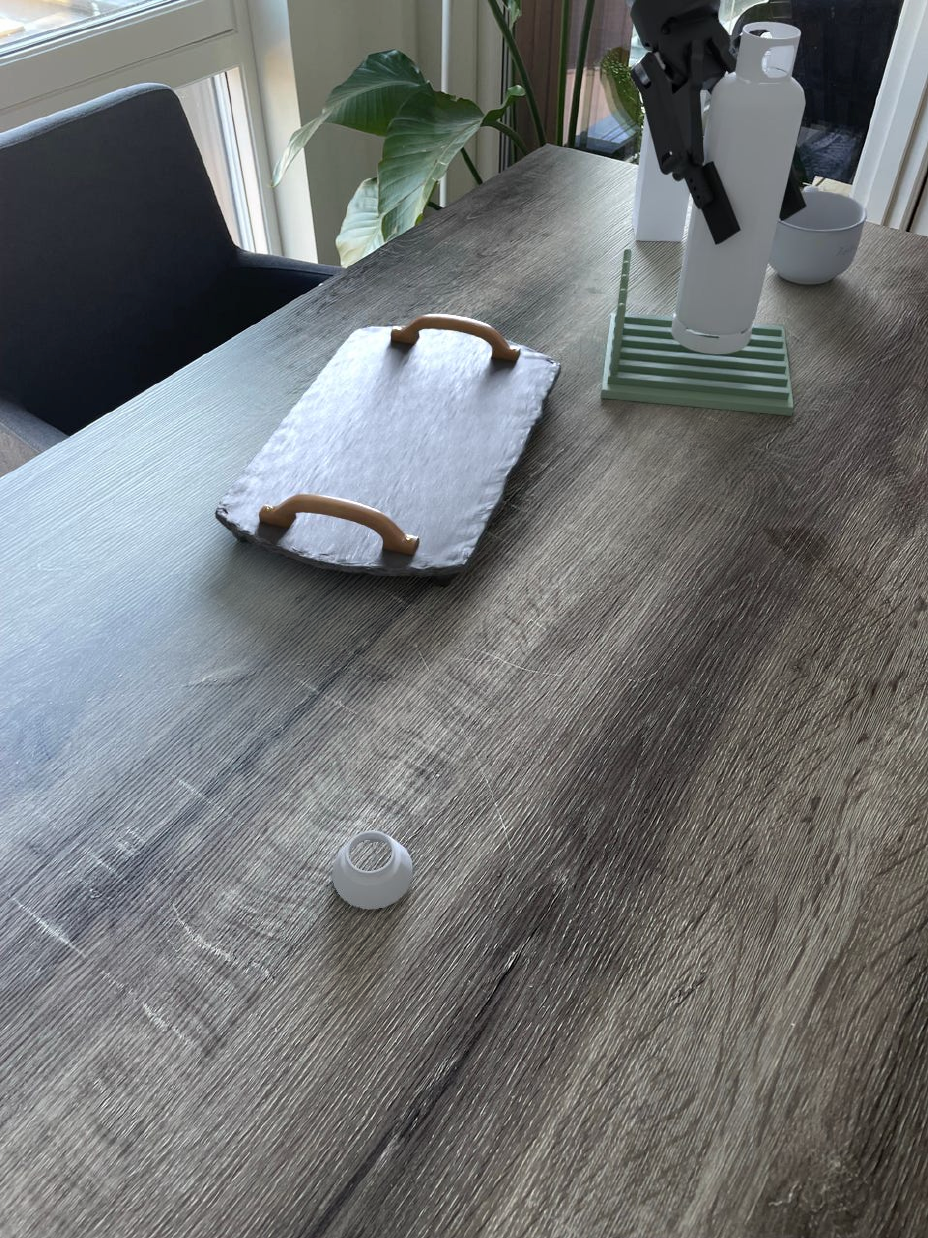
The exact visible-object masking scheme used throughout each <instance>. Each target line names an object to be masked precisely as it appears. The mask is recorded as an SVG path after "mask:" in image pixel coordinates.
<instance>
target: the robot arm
mask: <svg viewBox="0 0 928 1238" xmlns="http://www.w3.org/2000/svg"><path fill="white" fill-rule="evenodd" d="M624 2H625V4H626V6H627V7H631V9H630V13H629V16H630V18H631V22H632V24H633V27H634V29H635V32H636V33H637V36H638V39H639V41H640V43H641V46H642V47H643V49H644V50H646V51H647V52H646V53H645V54H644V55H643V56H642V57H641V58H640V59H639V60H638V61H637V62H636V63H635V64H634V65H633V66H632V68H631V69H630V70H629V75H630V77H631V80H632V82H633V83H634V85H635V87H636V88H637V90H638V92H639V94H640V97H641V101H642V105H643V109H644V114H645V113H646V117H647V121H648V125H649V129H650V133H651V136H652V140H653V144H654V148H655V152H656V156H657V160H658V164H659V167H660V170H661V172H662V173H663V174H664V175H669V174H670V173H672V177H673V178H674V180H676V181H681V180H682V179H685V181H686V184H687V186H688V189H689V191H690V197H691V199H692V202H693V201H694V203H695V205H696V207H697V208H698V209H701V210H702V212H703V215H704V217H705V220H706V222H707V225H708V227H709V230H710V232H711V235H712V237H713V240H714V242H715V245H717V244H720V243H722V242H724V241H725V240H727V239H728V238H730V237H731V236H733V235H734V234H736V233H737V232H739V231H740V230H741V229H740V226H739V224H738V221H737V219H736V216H735V214H734V211H733V209H732V206H731V204H730V201H729V199H728V196H727V194H726V191H725V189H724V186H723V184H722V181H721V179H720V176H719V174H718V171H717V169H716V167H715V165H714V161H712V162H708V163H706V164H705V165H704V166H703V165H702V164H703V163H704V145H703V140H704V132H703V117H702V113H701V98H700V93H701V90H707V92H708V93H709V95H710V96H711V94H712V91H713V89H714V87H715V86H716V84H717V83H718V82H719V81H720V80H721V79H723V78H724V77H725V76H726V75H728V74H730V73H732V72H735V69H736V64H737V58H738V53H739V48H740V42H741V37H742V32H741V33H739V34H730V33H729V31H728V30H727V29H726V28H725V27H724V25H723V24H722V22H721V21H720V18H719V17H720V16H719V14H720V8H721V3H722V0H624ZM749 33H750V34H752V35H755V33H754V30H753V31H750V32H749ZM670 151H671V152H672V154H670ZM795 171H796V170H795V165H794V163H793V162H792V163H791V168H790V172H789V176H788V180H787V185H786V189H785V193H784V197H783V202H782V206H781V210H780V214H779V218H780V220H781V221H783V220H786V219H788V218H789V217H791V216H792V215H794V214H796V213H797V212H799V211H800V210H802V209H804V208H805V207H807V206H806V203H805V201H804V198H803V196H802V193H801V192H802V190H801V188H800V185H799V184H798V183H799V182H798V181H797V178H796V175H795V174H796V172H795Z"/></svg>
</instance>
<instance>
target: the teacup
mask: <svg viewBox="0 0 928 1238" xmlns="http://www.w3.org/2000/svg"><path fill="white" fill-rule="evenodd" d="M801 193H802V196H803V198H804V201H805V203H806V206H807V207H805V208H804V209H802V210H800V211H799V212H797V213H796V214H794V215H792V216H791V217H789V218H788V219H786V220H783V221H781V220H780V218H779V219H778V223H777V227H776V231H775V236H774V240H773V244H772V248H771V253H770V257H769V261H768V265H769V266H770V268H772V269H773V271H775V272H776V273H777V275H779V276H780V277H781V278H782V279H784V280H785V281H788V282H790V283H793V284H799V285H809V286H810V285H820V284H824V283H827V282H829V281H832V280H833V279H834V278H836V277H838V276H840V275H842V274H843V273H845V272H846V270H848V269H849V268H850V267H851V265H852V263H853V262H854V259H855V257H856V254H857V251H858V248H859V245H860V241H861V237H862V233H863V230H864V225H865V222H866V220H867V219H868V210H867V207H866V206H864V205H863V204H862V203H861V201H858V200H856V199H854V198H852V197H850V196H847V195H845V194H841V193H836V192H830V191H822V190H821V191H819V188H818V186H817V185H807V186H805V187H804V188H803V190H802V191H801Z"/></svg>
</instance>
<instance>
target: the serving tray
mask: <svg viewBox="0 0 928 1238" xmlns="http://www.w3.org/2000/svg"><path fill="white" fill-rule="evenodd" d="M561 373H562V365H561V363H560V362H559V361H558V360H556V359H554V358H553V357H551V356H550V355H547V354H544V353H541V352H538V351H536V350H534V349H532V348H530V347H528V346H526V345H523V344H520V343H516V342H513V341H511V340H508V339H506V338H504V336H503V335H502V334H501V333H500V332H499V331H497V329H495V328H494V327H492V326H491V325H489V324H488V323H484V322H483V321H479V320H477V319H473V318H469V317H464V316H459V315H454V314H453V315H452V314H443V313H427V314H422V315H420V316H417V317H416V318H414V319H413V320H412V321H411V322H409V323H408V324H407V325H393V326H379V325H374V326H373V325H372V326H367V327H363V328H362V327H361V328H357V329H355V330H354V331H353V332H351V334H349V335H348V336H347V338H346V340H345V342H344V343H343V344H342V345H341V346H340V347H339V348H338V349H337V350H336V352H335V354H334V355H333V356H332V357H331V359H329V361H328V362H327V364H326V365H325V366H324V368H322V370H321V371H320V372H319V374H318V376H317V377H316V378H315V381H313V382H312V383H311V384H310V386H309V387H308V388H307V389H306V390H305V391H304V392H303V394H302V395H301V397H300V398H299V399H298V401H297V402H296V404H295V405H294V406H292V408H291V409H290V411H289V412H288V414H287V415H286V416H285V417H284V418H283V419H282V420H281V422H280V423H279V425H278V427H276V429H275V430H274V431H273V432H272V434H271V435H270V437H269V438H268V440H266V442H265V443H264V445H263V446H262V447H261V449H260V450H259V451H258V452H257V453H256V454H255V456H254V457H253V458H252V459H251V461H250V462H249V463H248V465H247V466H246V467H245V469H244V470H243V472H242V473H241V474H240V475H239V476H238V478H236V480H235V481H234V482H233V484H232V486H231V488H230V489H229V490H228V491H227V492H226V493H225V495H224V496H223V497H222V498H221V499H220V501H219V503H218V505H217V508H216V510H215V512H214V517H215V519H216V520H217V521H218V522H219V523H220V524H221V525H222V526H223V527H224V528H226V529H227V530H228V531H230V533H231V535H232V536H233V537H234V538H235V539H236V540H237V541H238V542H240V543H250V544H252V545H254V546H256V547H258V548H260V549H262V550H264V551H266V552H268V553H271V554H276V555H280V556H282V557H285V558H287V559H289V560H290V559H291V560H292V561H293V560H294V561H295V562H299V563H302V564H304V565H307V566H311V567H314V568H318V569H322V570H328V571H334V572H342V573H347V574H361V575H368V576H369V575H370V576H378V577H384V578H385V577H387V578H406V577H418V578H425V577H430V579H431V580H432V581H433V583H434V585H436V586H437V587H440V588H446V587H448V586H451V583H453V581H454V579H455V578H456V574H458V573H462V572H464V571H466V570H468V568H469V567H470V565H471V564H472V563H473V561H474V559H475V557H476V555H477V554H478V551H479V548H480V546H481V544H482V542H483V540H484V538H485V536H486V534H487V531H488V530H489V528H490V525H491V524H492V521H493V519H494V516H495V515H496V514H497V511H498V510H499V508H500V506H501V505H503V502H504V498H505V494H506V490H507V488H508V484H509V481H510V479H511V477H512V476H513V475H514V473H515V472H516V471H517V469H518V468H519V466H520V465H521V461H522V460H523V459H524V457H525V455H526V449H527V447H528V445H529V443H530V440H531V437H532V435H533V433H534V432H535V431H536V430H537V428H538V426H539V424H540V423H542V420H543V417H544V409H545V405H546V404H547V403H548V402H549V400H550V399H549V397H550V395H551V394H552V392H553V390H554V388H555V386H556V384H557V382H558V380H559V377H560V375H561Z"/></svg>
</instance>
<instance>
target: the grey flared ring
mask: <svg viewBox="0 0 928 1238" xmlns="http://www.w3.org/2000/svg"><path fill="white" fill-rule="evenodd" d="M364 840H370V843H374V842H381V841H384V844H385V843H387V844H388V845H389V846H390V848H391V850H392V854H391V858H390V860H389V861H388V862H387V863H386V864H385V865H384V866H383V867H381V868H379V869H377V870H373V871H365V870H361V869H359V868H357V867H355V866H354V865H353V864H352V862H351V861H350V859H349V855H350V852H351V850H352V848H353V847H354V846H355V845H356V844H357V843H358V842H363V843H364ZM336 855H337V856H336V857H335V860H334V861H333V864H332V870H331V871H332V873H331V874H332V875H331V881H332V884H333V883H334V884H333V886H334V889H335V888H336V889H335V891H336V890H337V891H336V893H337V892H338V893H337V895H338V894H339V895H340V896H341V897H342V898H343V899H344V900H343V899H342V898H341V897H340V896H339V895H338V896H339V897H340V898H341V899H342V900H343V901H345V902H346V901H347V902H348V903H349V904H350V905H349V904H348V903H347V902H346V903H347V904H348V905H349V906H351V905H353V906H352V907H355V906H356V907H355V908H358V907H360V908H359V909H361V908H362V909H361V910H364V909H368V910H380V909H379V908H382V909H384V908H386V907H388V906H391V905H393V904H395V903H397V902H398V901H399V900H400V899H401V898H402V897H403V896H404V895H405V894H406V893H407V892H408V890H409V888H410V885H411V883H412V880H413V878H414V876H413V875H414V874H413V859H412V857H411V856H410V854H409V852H408V850H407V848H406V847H404V846H403V844H401V843H400V842H398V841H397V840H396V839H395V838H393V837H391V836H390V835H388V834H386V833H385V832H382V831H379V830H372V829H371V830H364V831H361V832H359V833H357V834H355V835H354V836H352V837H351V838H350V839H349V841H348V842H347V843H346V844H345V845H344V846H343V847H342V848H341V849H340V850H339V851H338V853H337V854H336Z"/></svg>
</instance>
